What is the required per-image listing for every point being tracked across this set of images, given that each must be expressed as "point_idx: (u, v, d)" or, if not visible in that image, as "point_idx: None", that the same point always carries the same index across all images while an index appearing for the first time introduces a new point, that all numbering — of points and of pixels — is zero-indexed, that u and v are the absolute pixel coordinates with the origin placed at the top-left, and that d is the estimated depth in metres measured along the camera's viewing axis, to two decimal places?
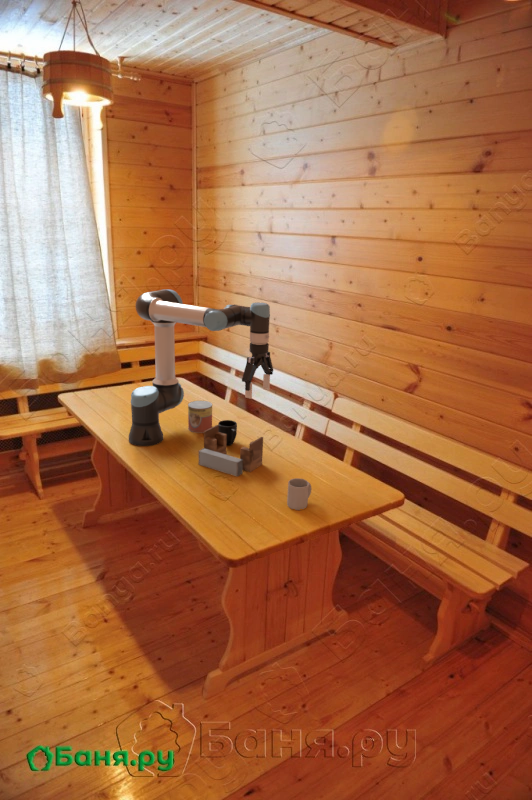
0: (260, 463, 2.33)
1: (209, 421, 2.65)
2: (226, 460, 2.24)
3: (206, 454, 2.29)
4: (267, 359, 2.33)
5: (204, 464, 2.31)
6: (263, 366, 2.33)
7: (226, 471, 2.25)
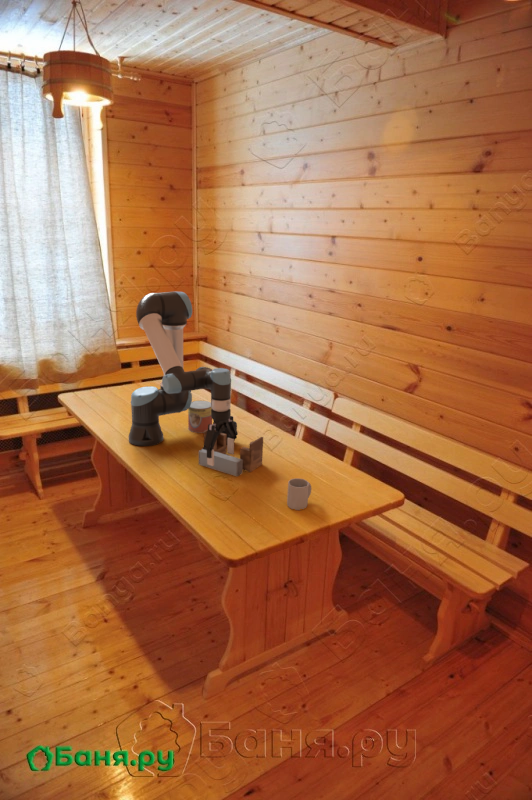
0: (260, 463, 2.33)
1: (209, 421, 2.65)
2: (226, 460, 2.24)
3: (206, 454, 2.29)
4: (230, 423, 2.28)
5: (204, 464, 2.31)
6: (226, 431, 2.28)
7: (226, 471, 2.25)
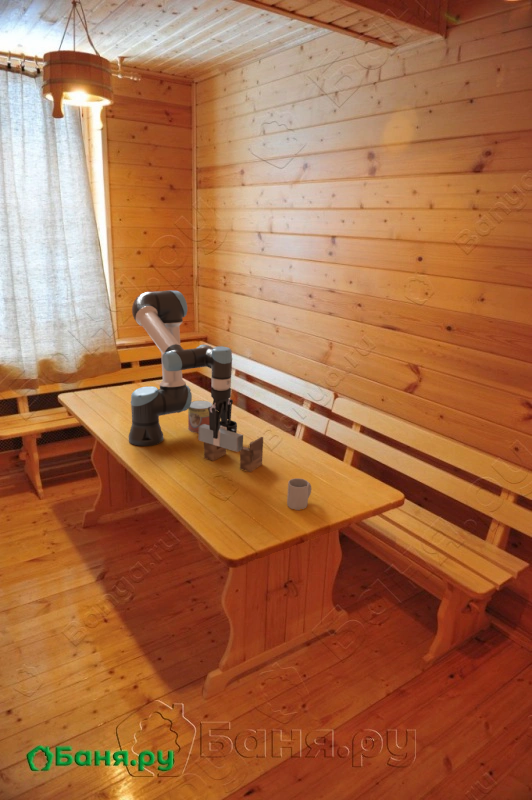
0: (260, 463, 2.33)
1: None
2: (226, 435, 2.21)
3: (206, 429, 2.25)
4: (228, 407, 2.25)
5: (204, 440, 2.27)
6: (222, 414, 2.23)
7: (226, 447, 2.22)
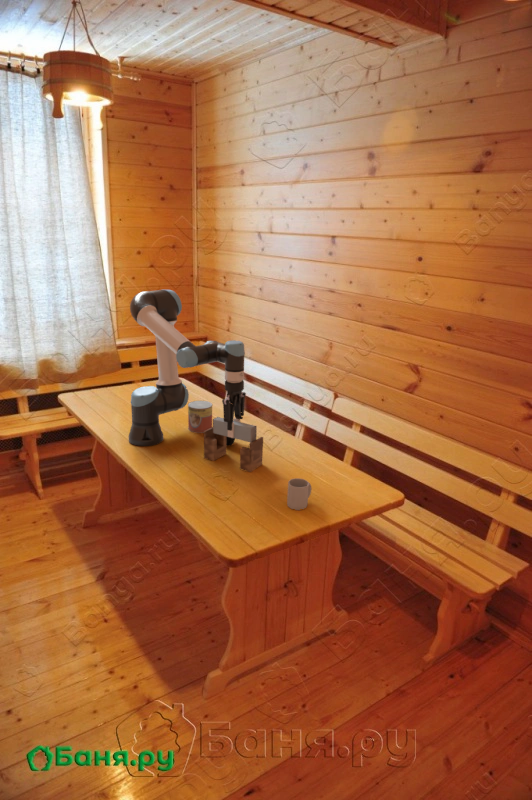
0: (260, 463, 2.33)
1: (209, 421, 2.65)
2: (240, 427, 2.27)
3: (220, 422, 2.32)
4: (241, 400, 2.32)
5: (218, 432, 2.34)
6: (236, 406, 2.30)
7: (240, 438, 2.29)
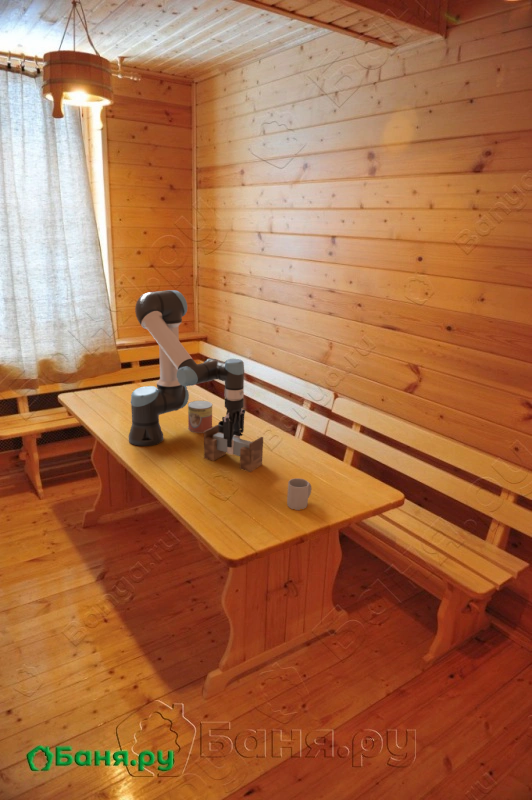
0: (260, 463, 2.33)
1: (209, 421, 2.65)
2: (240, 443, 2.30)
3: (220, 438, 2.34)
4: (241, 417, 2.34)
5: (218, 448, 2.36)
6: (235, 423, 2.33)
7: None
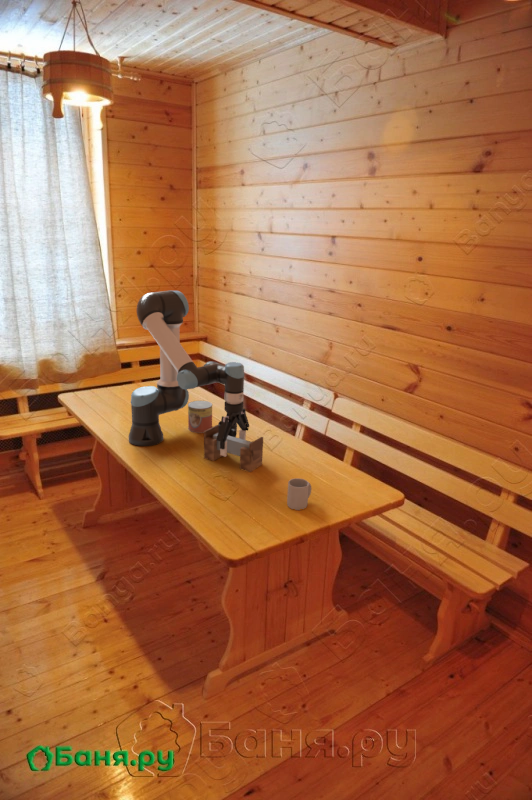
0: (260, 463, 2.33)
1: (209, 421, 2.65)
2: (240, 443, 2.30)
3: None
4: (243, 416, 2.36)
5: (218, 448, 2.36)
6: (238, 423, 2.35)
7: None
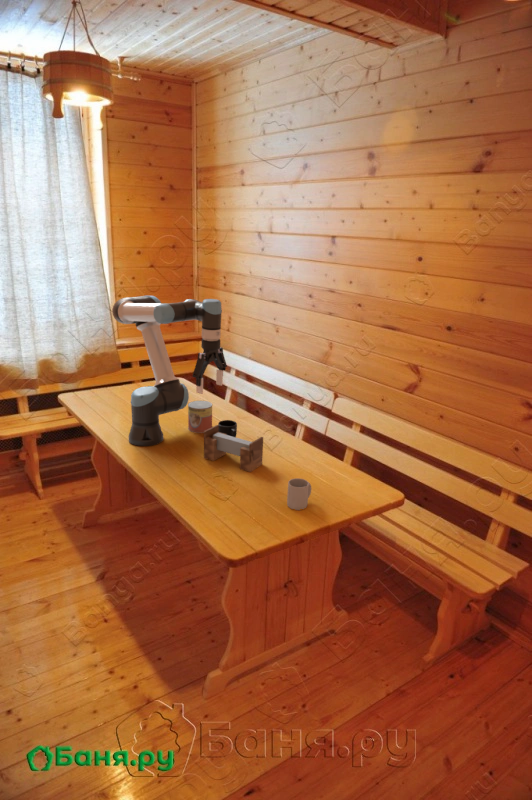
0: (260, 463, 2.33)
1: (209, 421, 2.65)
2: (240, 443, 2.30)
3: (220, 438, 2.34)
4: (220, 355, 2.36)
5: (218, 448, 2.36)
6: (216, 362, 2.35)
7: None
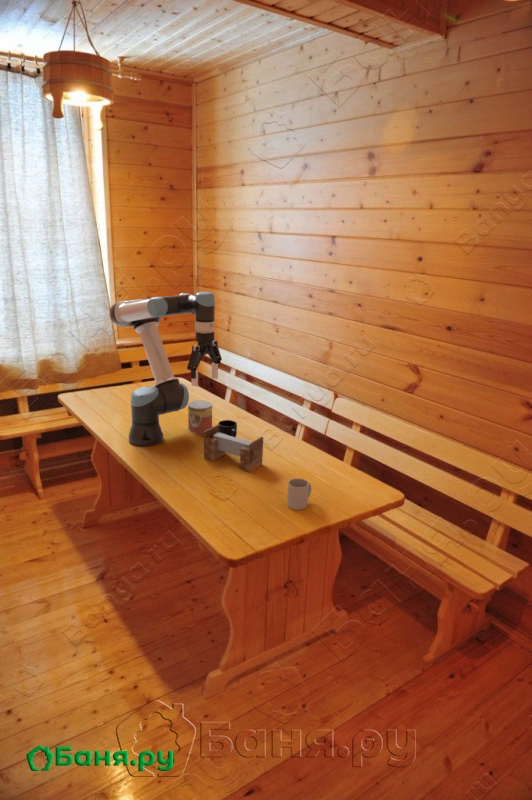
0: (260, 463, 2.33)
1: (209, 421, 2.65)
2: (240, 443, 2.30)
3: (220, 438, 2.34)
4: (214, 348, 2.37)
5: (218, 448, 2.36)
6: (210, 355, 2.36)
7: None
